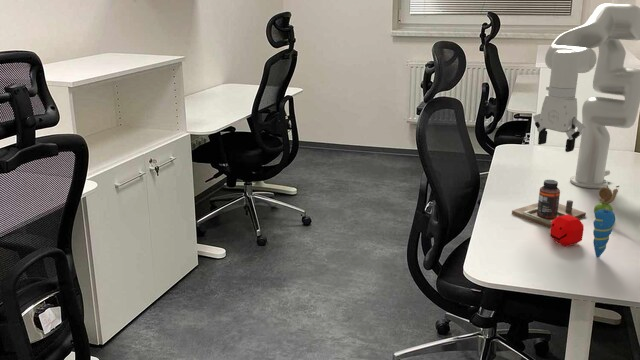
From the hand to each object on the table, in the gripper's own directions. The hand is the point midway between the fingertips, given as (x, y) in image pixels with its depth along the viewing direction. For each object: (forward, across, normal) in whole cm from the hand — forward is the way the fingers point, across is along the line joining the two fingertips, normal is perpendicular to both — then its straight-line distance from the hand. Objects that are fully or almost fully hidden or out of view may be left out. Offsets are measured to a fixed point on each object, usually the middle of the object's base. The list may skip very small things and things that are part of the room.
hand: (555, 147), depth 189 cm
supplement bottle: (+21, +3, -5) cm, 21 cm away
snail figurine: (+22, +13, +10) cm, 28 cm away
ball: (+22, +17, -15) cm, 32 cm away
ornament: (+21, +28, -16) cm, 39 cm away
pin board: (+22, +1, -1) cm, 22 cm away
